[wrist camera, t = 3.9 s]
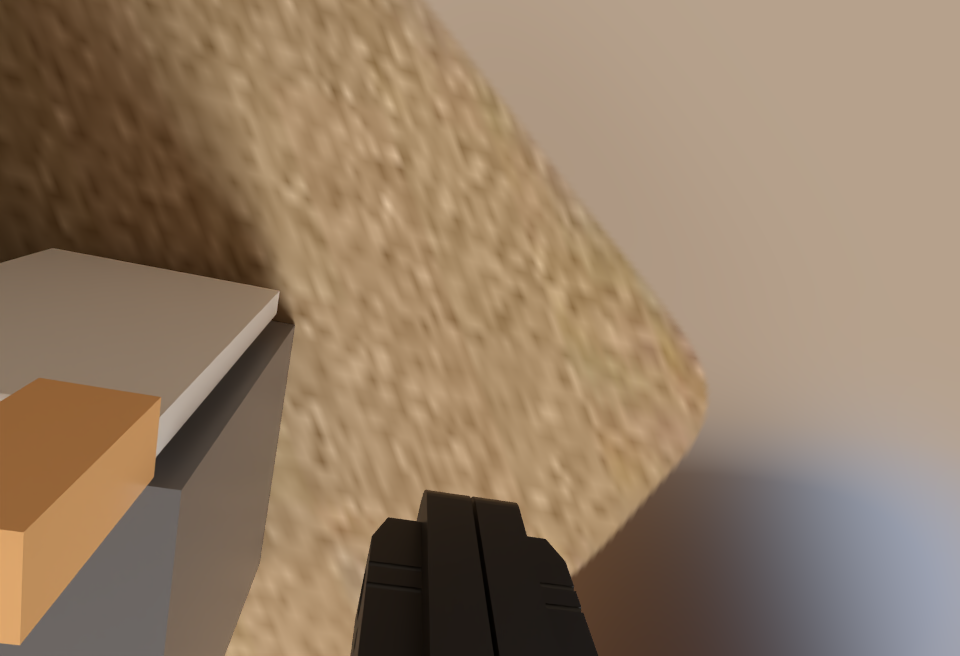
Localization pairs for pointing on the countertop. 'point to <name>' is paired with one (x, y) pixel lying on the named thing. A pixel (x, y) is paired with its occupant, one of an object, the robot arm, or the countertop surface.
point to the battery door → (97, 401)
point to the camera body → (183, 530)
